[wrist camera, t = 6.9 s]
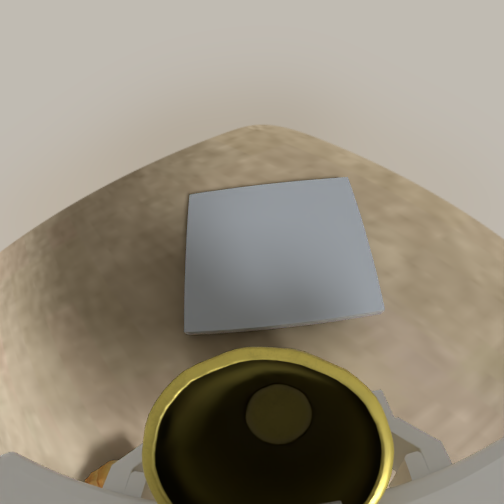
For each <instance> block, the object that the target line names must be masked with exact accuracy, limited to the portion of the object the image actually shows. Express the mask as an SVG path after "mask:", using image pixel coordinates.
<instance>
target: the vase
mask: <svg viewBox="0 0 504 504" xmlns="http://www.w3.org/2000/svg"><path fill="white" fill-rule="evenodd" d="M393 461H394V443H393V438H392V434H391V430H390V427H389V424H388V421H387V418H386V415H385V413H384V410H383V408H382V406H381V404H380V402H379V401H378V399H377V397H376V396H375V395H374V394H373V393H372V392H371V391H370V389H369V388H368V387H367V386H366V385H365V384H363V383H362V382H361V381H360V380H359V379H358V378H357V377H355V376H354V375H353V374H351V373H350V372H349V371H347V370H346V369H344V368H341V367H339V366H337V365H334V364H332V363H330V362H327V361H325V360H323V359H321V358H319V357H316V356H314V355H312V354H309V353H307V352H305V351H301V350H297V349H292V348H274V347H244V348H238V349H235V350H231V351H228V352H225V353H222V354H220V355H218V356H215V357H213V358H210V359H208V360H206V361H203V362H201V363H198V364H196V365H194V366H192V367H191V368H189V369H187V370H185V371H183V372H182V373H181V374H180V375H179V376H177V377H176V378H175V379H174V380H173V381H172V382H171V383H170V384H169V385H168V386H167V387H166V388H165V390H164V391H163V392H162V393H161V395H160V396H159V398H158V399H157V400H156V402H155V404H154V406H153V407H152V409H151V411H150V413H149V415H148V419H147V422H146V425H145V431H144V437H143V446H142V465H143V471H144V476H145V479H146V481H147V484H148V487H149V489H150V491H151V493H152V495H153V497H154V499H155V501H156V502H157V504H321V503H327V502H333V501H341V502H342V504H378V502H379V501H380V499H381V498H382V496H383V494H384V492H385V490H386V488H387V486H388V483H389V480H390V477H391V473H392V467H393Z"/></svg>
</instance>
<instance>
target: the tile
mask: <svg viewBox="0 0 504 504" xmlns="http://www.w3.org/2000/svg"><path fill="white" fill-rule="evenodd" d="M384 310H385V308H384V304H383V299H382V294H381V290H380V286H379V281H378V277H377V273H376V269H375V265H374V261H373V257H372V254H371V250H370V246H369V243H368V239H367V236H366V232H365V229H364V225H363V222H362V219H361V216H360V212H359V209H358V206H357V203H356V200H355V197H354V194H353V191H352V188H351V185H350V182H349V179H348V177H342V178H328V179H315V180H304V181H293V182H283V183H273V184H264V185H256V186H247V187H239V188H232V189H224V190H217V191H210V192H203V193H196V194H190V195H189V208H188V223H187V240H186V262H185V296H184V332H185V333H186V334H188V335H199V334H217V333H232V332H245V331H256V330H267V329H277V328H286V327H295V326H303V325H311V324H319V323H326V322H333V321H340V320H347V319H353V318H359V317H365V316H371V315H377V314H381V313H382V312H383V311H384Z"/></svg>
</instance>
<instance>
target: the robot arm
mask: <svg viewBox="0 0 504 504" xmlns="http://www.w3.org/2000/svg"><path fill="white" fill-rule="evenodd" d="M372 393H373V394H374V395H375V396H376V397H377V399H378V401H379V402H380V404H381V406H382V408H383V410H384V413H385V415H386V418H387V421H388V424H389V427H390V430H391V434H392V438H393V443H394V461H393V467H392V469H393V470H395V471H396V472H397V473H396V474H395V476H394V478H393V479H392V481H391V483H390V484H389V487H390V488H388V489H386V490H385V492H384V494H383V496H382V498H381V499H380V501H379V502H378V504H504V436H503V437H502V438H500V439H499V440H497V441H495V442H494V443H492V444H490V445H489V446H487V447H485V448H483V449H481V450H480V451H478V452H476V453H474V454H472V455H470V456H468V457H466V458H464V459H462V460H460V461H458V462H456V463H454V464H452V462H451V460H450V458H449V456H448V454H447V452H446V450H445V448H444V446H443V444H442V442H441V441H440V440H438V439H436V438H434V437H432V436H431V435H429V434H427V433H425V432H423V431H422V430H420V429H418V428H416V427H414V426H413V425H411V424H409V423H407V422H406V421H404V420H402V419H400V418H399V417H397V418H394V415H393V413H392V411H391V409H390V406H389V404H388V402H387V400H386V398H385V396H384V393H383V391H382V390H381V389H380V390H376V391H372ZM142 446H143V443H142V444H141V445H139V446H138V447H137V448H135V449H134V450H133V451H131V452H130V453H128V454H127V455H126V456H124V457H123V458H121V459H120V460H118V461H117V462H116V463H114V464H113V465H112V466H111V468H110V471H109V473H108V475H107V478H106V480H105V483H104V485H103V488H100V487H97V486H94V485H91V484H88V483H85V482H82V481H79V480H76V479H74V478H71V477H69V476H66V475H63V474H61V473H59V472H56V471H54V470H51V469H49V468H47V467H45V466H43V465H40V464H38V463H36V462H34V461H32V460H30V459H28V458H26V457H24V456H22V455H20V454H18V453H16V452H8V453H5V454H3V455H0V504H157V502H156V501H155V499H154V497H153V495H152V493H151V491H150V489H149V487H148V484H147V481H146V479H145V476H144V471H143V465H142ZM321 504H342V502H341V501H333V502H327V503H321Z"/></svg>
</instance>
